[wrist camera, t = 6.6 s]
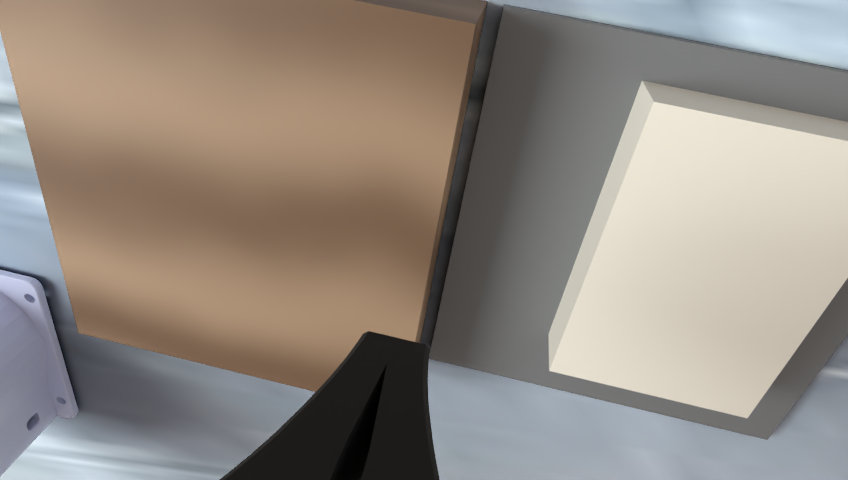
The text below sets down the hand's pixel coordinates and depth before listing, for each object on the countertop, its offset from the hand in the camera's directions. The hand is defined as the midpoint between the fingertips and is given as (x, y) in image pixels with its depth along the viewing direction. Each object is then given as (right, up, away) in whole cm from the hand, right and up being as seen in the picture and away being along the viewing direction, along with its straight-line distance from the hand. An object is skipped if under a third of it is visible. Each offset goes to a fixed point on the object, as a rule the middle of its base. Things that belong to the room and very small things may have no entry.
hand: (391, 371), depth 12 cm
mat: (+9, +2, +8) cm, 12 cm away
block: (+9, +1, +5) cm, 11 cm away
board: (-5, +5, +9) cm, 11 cm away
